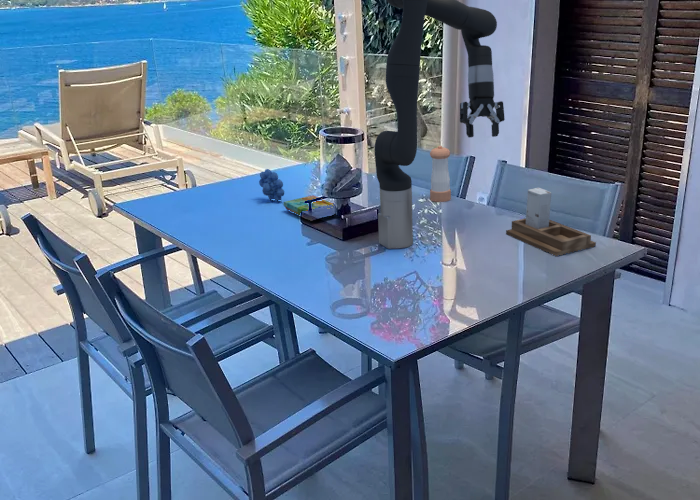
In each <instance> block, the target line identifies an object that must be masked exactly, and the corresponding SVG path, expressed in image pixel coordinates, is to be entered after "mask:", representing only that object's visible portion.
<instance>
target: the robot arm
mask: <svg viewBox="0 0 700 500" xmlns="http://www.w3.org/2000/svg"><path fill="white" fill-rule="evenodd" d="M386 2H387V4H389V5H390V6H392V7H394V8H397V9H402V17H401V23H400V27H399V31H398V32H397V35H396V37H395V38H394V40H393V42H392V44H391V46H390V49H389V51H388V54H387V57H386V64H385V65H386V66H385V85H386V89H387V92H388V94H389V97H390V99H391V101H392V104H393V105H394V107H395V108H394V109H395V111H396V115H397V118H396V119H397V131H395V130H382V131H381V132H380V133H378V135H377V136H376V139H375V143H374V163H375V170H376V171H375V174H376V179H377V180H378V184H379V201H380V202H379V203H380V204H379V205H380V206H379V207H380V212H378V214H377V219H378V220H377V221H378V222H377V223H378V224H377V225H378V242H379V245H381V246H383V247H384V248H386V249H388V250H390V249H404V248H409V247H411V246H412V245H413V244H414V232H413V231H414V230H413V229H414V227H413V224H414V223H413V220H414V219H413V191H412V190H413V186H412V182H413V181H412V178H411V176H410V175H409V174H407V173H406V172H405V171H403V170H402V169H401V167H402V166H403V167H407V166H410V165H411V164H413V162H414V161H415V160H416V159H415V158H416V155H417V149H418V97H419V96H418V95H419V94H418V93H419V84H420V83H419V82H420V74H421V73H420V72H421V54H422V53H421V51H422V43H423V41H422V40H423V35H424V34H423V32H424V25H425V18H426V17H430V18H432V19H433V20H436V21H438V22H441V23H443V24H445V25H446V26H449V27H451V28H453V29H455V30H459V31H460V30H461V31H460V32H461V33H460V34H461V35H462V39H463V42H464V45H465V46H464V47H465V49H466V53H467V64H468V66H467V69H468V73H467V83H468V84H467V86H468V98H469V99H468V100H469V102H467V101H462V102H460V103H459V122H460V123H461V124H465V127H466V128H465V129H466V130H465V131H466V132H465V133H466V136H467V138H474V136H475V133H474V131H475V130H474V124H473V123H474V122H475V120H476V119H477V117H485V118H487V119H488V120H489V121H490V122H491V136H492V137H493V138H494V137H498V136H499V133H500V123H502V122H504V121H505V120H506V119H505V118H506V117H505V110H504V108H505V107H504V101H502V100H499V101H496V102H495V101H494V100H495V99H494V98H495V84H494V83H495V82H494V80H495V79H494V70H493V53H492V48H491V47H490V46H489V45H481V43H480V39H482V38H486V37H490V36H491V35H493V34H494V33H495V32H496V30H497V28H498V27H497V26H498V21H497V19H496V17H495V15H494V14H493V13H492V12H490V11H488V10H486V9H484V8H479V7H474V6H468V5H467V4H464V3H462V2H461V1H459V0H386ZM469 109H470V112H469V111H468V110H469ZM494 109H495V110H494ZM468 112H469V113H468ZM400 166H401V167H400Z"/></svg>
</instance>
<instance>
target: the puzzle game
mask: <svg viewBox="0 0 700 500" xmlns="http://www.w3.org/2000/svg"><path fill="white" fill-rule="evenodd" d="M316 198H320V197H318V196H316V195H313V194H312V195H308V196H304V197H300V198H295V199H290V200H286V201H283V207H284V208H285V209H286V210H287V211H288V210H290V211H292V212H294V213H296V214H298V215H300V213H301V212H302V211H308V209H309V206H308V204H307V203H304V202H305V201H307V200H312V199H316ZM333 204H334V203H332V202H330V201H328V200H325V199H324V200H322V201H316V202H313V203H312V209H315V208H318V207H323V206H327V205H328V206H329V205H332V206H334V205H333ZM331 208H333V207H331ZM327 209H330V208H327Z"/></svg>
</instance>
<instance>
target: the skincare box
mask: <svg viewBox="0 0 700 500" xmlns="http://www.w3.org/2000/svg"><path fill="white" fill-rule="evenodd" d="M526 197H527V198H526V209H525V210H526V211H525V214H526V215H525V218H526V225H528V226H531V227H533V228H536V229H542V228H546V227H549V220H550V214H551V203H552V192H551V191H548V190H547V189H544V188H541V187H535V188H530V189H527V196H526Z"/></svg>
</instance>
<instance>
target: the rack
mask: <svg viewBox="0 0 700 500" xmlns="http://www.w3.org/2000/svg"><path fill="white" fill-rule="evenodd" d="M505 231H506V232H505V235H507V236H510V237H512V238H514V239H516V240H518V241H521V242H523V243H525V244H527V245H530V246H532V247H534V248H536V249H538V248H539V249H538V250H540V249H541V250H540V251H543V252H545V251H546V252H545V253H547V252H549V253H551V254H550V255H552V254H553V255H552V256H554V255H555V257H559V256H558V255H560V256H564V255H567V254H566V253H568V254H571V253H570V252H572V253H575V252H574V251H576V252H579V251H578V250H580V251H583V250H582V249H584V250H587V249H586V248H588V249H591V248H590V247H592V248H595V247H594V246H597V245H596V244H597V241H593V240H592V239H591V238H592V235H591V234H589V233H586V232H583V231H581V230H578V229H575V228H573V227H570V226H567V225H565V224H562V223H560V222H556V221H555V220H552V219H549V227H546V228H542V229H536V228H533V227H531V226H528V225H526V217H525V218H521V219H517V220H512V221H511V228H510V229H507V230H505ZM549 253H548V254H549ZM563 254H564V255H563Z"/></svg>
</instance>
